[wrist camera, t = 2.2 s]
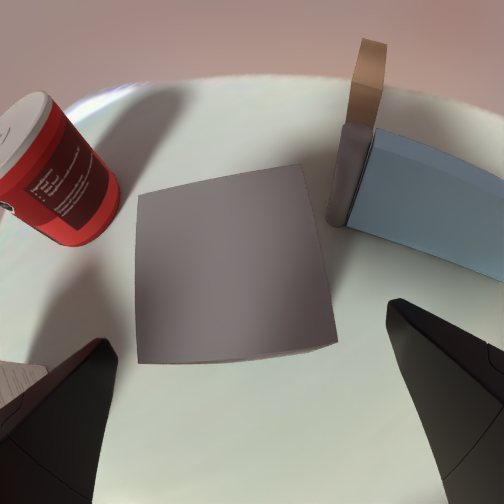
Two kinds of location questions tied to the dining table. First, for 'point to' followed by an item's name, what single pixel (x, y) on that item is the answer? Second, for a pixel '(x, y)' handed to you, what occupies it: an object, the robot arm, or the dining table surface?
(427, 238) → the gate
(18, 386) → the small box
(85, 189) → the canned food
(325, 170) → the dining table surface
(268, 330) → the block
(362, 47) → the brown wooden block
